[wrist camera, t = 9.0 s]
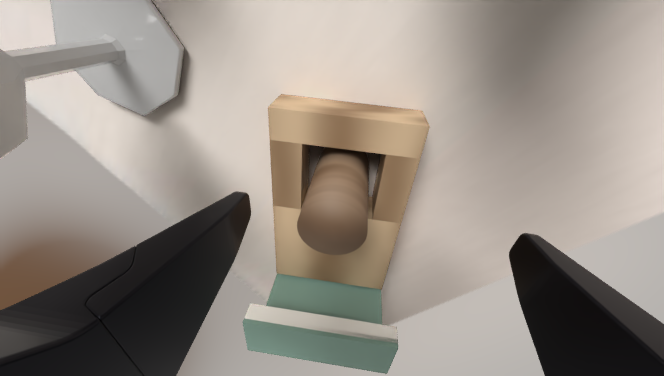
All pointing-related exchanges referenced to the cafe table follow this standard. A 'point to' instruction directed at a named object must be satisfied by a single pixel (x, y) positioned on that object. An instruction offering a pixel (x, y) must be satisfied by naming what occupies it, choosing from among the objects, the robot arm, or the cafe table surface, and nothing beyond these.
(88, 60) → the wineglass
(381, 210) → the socket block
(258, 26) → the cafe table surface
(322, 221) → the walnut peg
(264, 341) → the teal l-shaped bracket
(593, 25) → the cafe table surface
